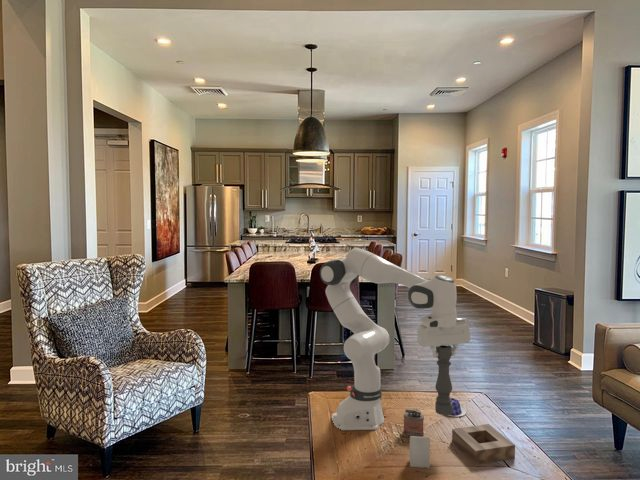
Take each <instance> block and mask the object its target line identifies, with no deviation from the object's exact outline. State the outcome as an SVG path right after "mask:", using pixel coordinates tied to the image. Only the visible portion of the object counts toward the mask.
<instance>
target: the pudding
mask: <svg viewBox="0 0 640 480" xmlns="http://www.w3.org/2000/svg"><path fill="white" fill-rule="evenodd" d="M450 398H451V399H452V401H451V402H452V414H451V415H447V416H448V417H449V416H450V417H457V418H458V417H463V416H465V415H466V414H467V410H466V409H465V408H464V407H462V406H461V404H460V401H459V400H458V399H456V398H454V397H450Z"/></svg>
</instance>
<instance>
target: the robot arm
mask: <svg viewBox="0 0 640 480" xmlns="http://www.w3.org/2000/svg"><path fill="white" fill-rule="evenodd" d="M319 277H320V280H321V281H322V282H323V284H326V285H327V286H326V288H325V296H326V298H327V301H328V303H329V305H330V307H331V308H332V310H333V313H334V315H335V316H336V318H337V320H338V321H339V323H340V325H341V326H343V327H344V328H346V329H348V330H350V331H351V333H353V334H352V335H350V336H349V337H348V338H347V339H346V340H345V342H344V344H343V351H344V355H345V356H346V357H347V358H348V359H349V360H350V361H351V363H352V366H353V367H352V368H353V373H354V374H353V375H354V376H353V377H354V385H353V386H352V387H351V385H348V386H346V390H347V392H348V393H349V395H348V396H347V397H346V398H345V399H343V400H342V401H341V402H339V403H338V404H337V409H336V412H334V413H332V415H331V421H333V422H332V424H333V423H334V424H333V425H334V427H336V429H338V428H339V429H338V430H340V429H341V430H340V431H369V430H371V431H372V430H375V431H376V430H377V429H378V428H379V426H380V425H382V424H383V423H384V422H385V417H384V414H383V408H382V393H383V392H382V386H381V369H380V368H379V366H378V365H376V361H375V355H376V354H378V353H380V352H382V351H383V350H384V349H385V348H386V347H387V346H388V345H389V343H390V334H389V333H388V330H387V329H386V328H385V327H382V326H380V325H378V324H377V323H375V322H374V321H373V320H372V319H371V318H370V317H369V316H368V315H367V313H365V312H364V310H363V308H362V307H361V305H360V304H359V302H358V301H357V299H356V297H355V296H354V294H353V292H352V290H351V287H350V286H351V285H354V284H355V283H356V282H357V280H358V278H359V277H361V278H362V279H364V280H366V281H368V282H370V283H374V284H378V285H380V284H381V285H382V284H398V285H401V286H404V287H407V288H408V291H407V300H408V302H409V304H410V305H411V306H412V307H413V308H415V309H421V310H422V309H431V313H430V314H427V315H425V316H423V317H420V318H419V324H420V325H419V326H418V329H417V336H416V338H417V340H416V341H417V343H418V345H419V346H421V347H422V348H426V347H427V348H430V350H431V352H432V357H433V358H437V357H438V352H436V346H440V345H450V346H451V347H452V356H454V357H455V356H456V351H457V349H458V348H459V345H460V344H462V345H463V344H469V343H470V341H471V332H470V331H471V330H470V324H471V323H470V321H469V319H468V318H465V317H462V318H457V317H458V316H457V314H458V313H457V308H456V304H457V300H458V299H457V298H458V297H457V296H458V295H457V293H458V292H457V285H456V282H455V279H453V278H452V277H449V276H446V275H435V276H433V277H432V278H426V277H423V276H421V275H418V274H417V273H414V272H412V271H410V270H407V269H406V268H403V267H400V266H398V265H397V264H394V263H392V262H390V261H388V260H386V259H384V258H383V257H381V256H379V255H377V254H376V253H373V252H370V251H369V250H366V249H362V248H360V247H359V248H358V247H354V248H352V249H350V251H348V253H346V256H345V257H339V258H336V259H331V260H329V261H326V262H324V263H323V264H322V265H321V267H320V269H319ZM452 356H451V357H452Z"/></svg>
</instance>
